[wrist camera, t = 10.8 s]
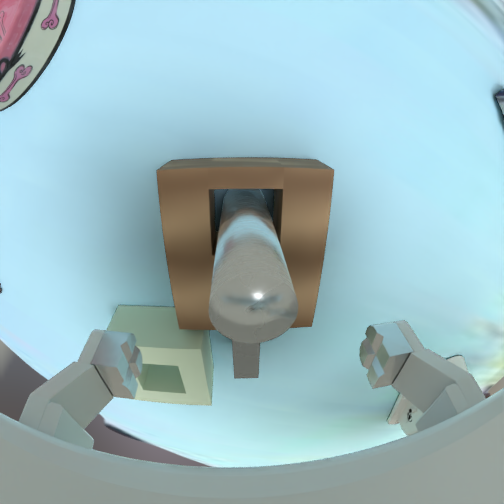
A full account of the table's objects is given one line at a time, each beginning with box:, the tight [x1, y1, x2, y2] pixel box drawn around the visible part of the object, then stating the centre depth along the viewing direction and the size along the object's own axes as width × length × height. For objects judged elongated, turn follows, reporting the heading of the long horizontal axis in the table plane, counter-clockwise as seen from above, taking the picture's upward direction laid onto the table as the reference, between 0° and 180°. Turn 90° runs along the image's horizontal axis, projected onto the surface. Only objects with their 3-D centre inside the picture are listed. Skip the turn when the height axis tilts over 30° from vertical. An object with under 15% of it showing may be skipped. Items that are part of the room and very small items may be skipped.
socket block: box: [157, 157, 334, 330], centre depth 23 cm, size 14×12×4 cm
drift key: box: [232, 340, 260, 378], centre depth 26 cm, size 12×2×5 cm, turn 179°
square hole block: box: [106, 305, 214, 405], centre depth 28 cm, size 10×10×6 cm
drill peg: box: [209, 189, 298, 343], centre depth 17 cm, size 4×4×14 cm
